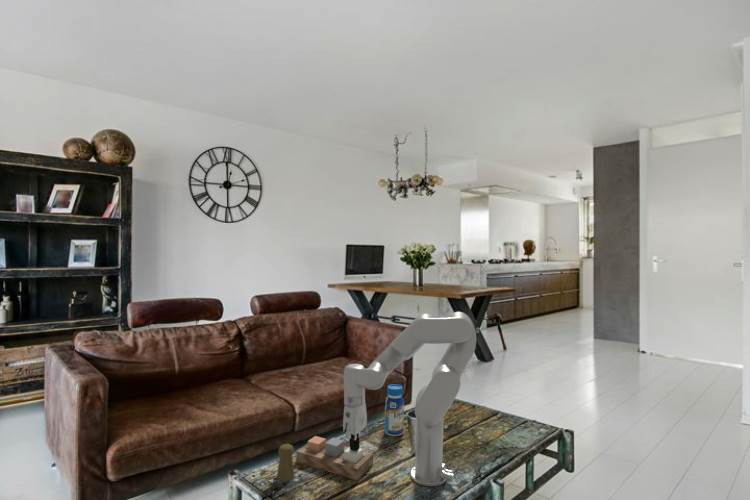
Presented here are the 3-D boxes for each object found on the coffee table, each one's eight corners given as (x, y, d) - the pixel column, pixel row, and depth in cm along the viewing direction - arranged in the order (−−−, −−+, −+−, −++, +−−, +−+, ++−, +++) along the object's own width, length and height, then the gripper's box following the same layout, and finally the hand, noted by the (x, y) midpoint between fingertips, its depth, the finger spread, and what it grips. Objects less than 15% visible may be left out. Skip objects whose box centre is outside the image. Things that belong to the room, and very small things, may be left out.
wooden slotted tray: (372, 464, 159) (373, 453, 159) (357, 480, 148) (357, 468, 148) (314, 448, 171) (314, 438, 171) (296, 461, 160) (296, 451, 160)
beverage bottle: (392, 426, 192) (392, 382, 191) (407, 431, 187) (408, 386, 186) (380, 432, 185) (381, 386, 185) (396, 438, 180) (397, 391, 179)
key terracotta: (325, 451, 164) (326, 438, 164) (318, 457, 160) (318, 444, 160) (315, 448, 166) (315, 435, 166) (307, 453, 162) (307, 441, 162)
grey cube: (343, 453, 161) (344, 440, 160) (336, 459, 156) (337, 446, 156) (332, 450, 163) (332, 437, 163) (325, 455, 158) (325, 443, 158)
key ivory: (362, 461, 157) (362, 448, 157) (355, 468, 153) (356, 454, 152) (350, 458, 159) (350, 445, 159) (343, 464, 155) (344, 451, 155)
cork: (287, 470, 154) (287, 440, 154) (298, 476, 150) (298, 445, 150) (273, 477, 149) (273, 446, 149) (284, 483, 146) (284, 451, 145)
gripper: (353, 408, 147) (353, 461, 147) (373, 394, 160) (373, 442, 161) (334, 404, 150) (334, 456, 151) (355, 391, 164) (355, 438, 164)
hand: (354, 449), depth 156 cm, fingers closed
